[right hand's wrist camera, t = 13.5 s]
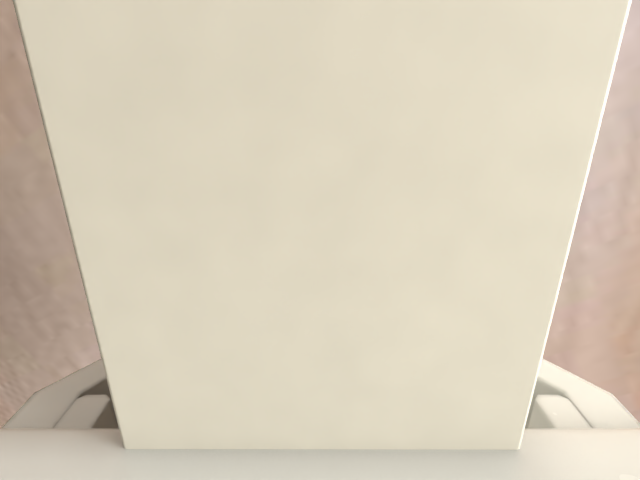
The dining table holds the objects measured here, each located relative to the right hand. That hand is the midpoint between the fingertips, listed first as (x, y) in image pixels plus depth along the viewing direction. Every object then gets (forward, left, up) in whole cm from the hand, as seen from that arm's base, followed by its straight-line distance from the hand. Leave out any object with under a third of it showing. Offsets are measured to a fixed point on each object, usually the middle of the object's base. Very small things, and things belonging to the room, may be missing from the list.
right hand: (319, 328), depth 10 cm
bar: (+8, -6, -4) cm, 11 cm away
